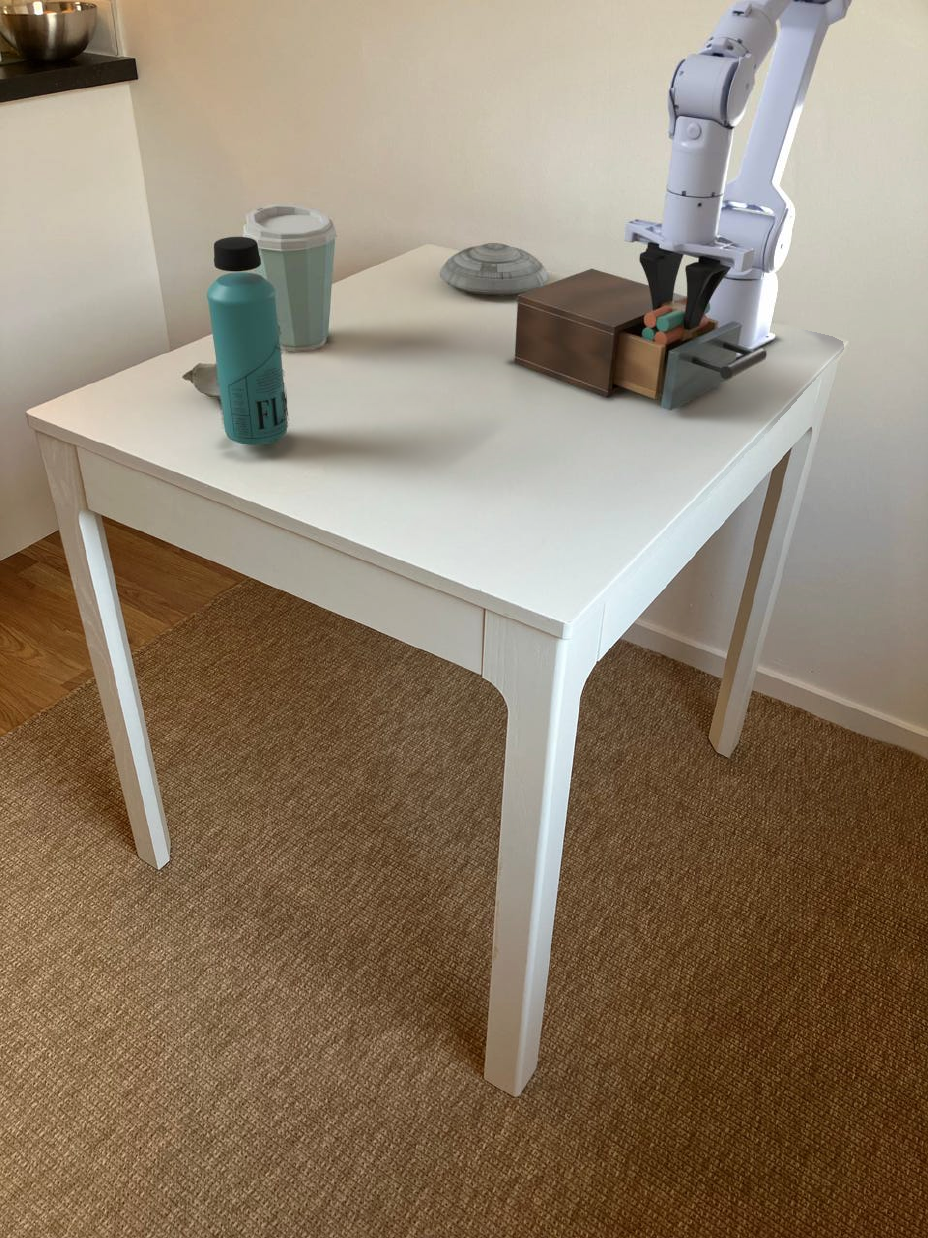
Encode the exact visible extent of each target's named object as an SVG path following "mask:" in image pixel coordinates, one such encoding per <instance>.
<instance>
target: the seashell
mask: <svg viewBox="0 0 928 1238" xmlns="http://www.w3.org/2000/svg"><path fill="white" fill-rule="evenodd" d="M215 364H216V365H215ZM215 372H216V373H215ZM181 378H182V379H183V380H185V381H189V382H190V383H191V384H193V386H194V388H195V389H196V390H197V391H198V392H200V393H201V394H203V395H205V396H207V397H211V398H215V399H219V397H220V390H219V391H218V389H219V382H218V375H217V363H202V362H199V363H197V364H196V365H195V366H194V367H192V369H190V370H189V371H187V372H186V373H184V374H183V375H182V376H181ZM217 382H218V383H217ZM217 385H218V386H217ZM218 393H219V394H218ZM219 400H221V398H220V399H219Z"/></svg>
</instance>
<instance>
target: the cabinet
mask: <svg viewBox="0 0 928 1238" xmlns="http://www.w3.org/2000/svg"><path fill="white" fill-rule="evenodd" d="M685 297H687V295H682V294H679V293H675V292H674V293H673V300H672V301H674V302H675V301H678V300H680V299H683V298H685ZM652 311H653V308H652V300H651V294H650V289H649V284H645V283H641V282H639V281H636V280H632V279H628V278H625V277H622V276H618V275H614V274H611V273H608V272H604V271H601V270H598V269H594V268H588V269H587V270H584V271H580V272H578V273H576V274H573V275H570V276H567V277H564V278H562V279H558V280H556V281H553V282H550V283H548V284H544V285H541V286H540V287H538V288H536V289H533V290H530V291H527V292H523V293H518V295H517V307H516V325H515V327H516V328H515V344H514V345H515V349H514V364H516V365H519V366H521V367H524V368H527V369H529V370H532V371H534V372H538V373H540V374H543V375H545V376H548V377H551V378H554V379H556V380H558V381H561V382H564V383H566V384H569V385H572V386H574V387H577V388H580V389H582V390H585V391H588V392H591V393H593V394H596V395H598V396H600V397H603V398H606V399H608V398H611V397H612V396H614V395H616V394H618V393H621V392H622V391H624V390H626V388H624V387H621V386H618V385H615V384H613V375H614V366H615V357H616V348H617V339H618V332H620V331H622V330H624V329H627V328H629V327H631V326H634V325H636V324H638V323H641V322H643V321H644V317H645V315H646V314H647V313H649V312H652Z"/></svg>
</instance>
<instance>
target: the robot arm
mask: <svg viewBox="0 0 928 1238" xmlns="http://www.w3.org/2000/svg"><path fill="white" fill-rule="evenodd" d="M852 1H853V0H740V1H736V2H735V3H732V4H731V5H730V6H729V7H728V8H727V9H726V10H725V12H724V13H723V15H722V16H721V18H720V19H719V21H718V22H717V24H716V25H715V27H714V28H713V30H712V32H711V33H710V34H709V36H708V38H707V39H706V41H705V42H704V44H703V45H702V47H701V48H700V49H699V51H698V53H690V54H689V55H688V56H687V57H686V58H683V59H681V60H679V62H677V65H676V66H675V68H674V70H673V73H672V76H671V79H670V84H669V88H668V90H667V111H668V115H669V124H668V131H667V132H668V138H669V139H671V141H672V144H671V149H670V150H671V151H670V157H669V159H670V160H669V166H668V175H667V182H666V190H665V198H664V206H663V214H662V219H661V220H662V221H661V222H657V221H656V222H655V221H649V220H645V219H639V218H635V219H632V220H629V221H626V222H625V227H624V228H625V229H624V237H623V238H624V239H623V240H624V242H628V243H640V244H643V245H647V246H646V249H645V251H643V252H640V254H639V257H638V258H639V259H638V260H639V263H640V265H641V267H642V270H643V272H644V275H645V277H646V281H647V285H649V289H650V294H651V300H652V308H653V311H654V310H656V309H659V308H661V304H663V303H665V302H668V301H670V300H671V301H672V300H673V293H675V285H676V281H677V277H678V273H679V271H680V267H681V263H682V260H683V257H684V256H688V257H691V258H692V257H693V258H696V259H698V260H697V261H695V262H692V263H689V264H686V265H685V269H684V270H685V271H684V272H685V278H686V297H687V302H686V308H685V315H684V329H686V330H692V329H694V328H696V327H698V326H699V325H700V322H701V319H702V317H703V314H704V312H705V309H706V307H707V305H708V303H710V310H709V312H708V313H706V314H705V315H706V316H707V318H709V319H713V320H716V321H719V323H718V328H719V327H722V326H724V325H726V324H728V323H730V322H732V321H734V322H737V323H741V324H742V327H741V333H740V338H739V344H738V346H741V347H744V348H748V349H751V350H756V349H758V348H760V347H761V346H763V345H765V344H766V343H769V342H770V341H773V340H774V339H775V338H776V335H775V334H774V333H772V332H770V329H771V324H772V320H773V316H774V309H775V304H776V300H777V295H778V290H779V289H778V288H779V284H778V283H779V282H778V277H777V274H776V272H777V271H779V269H780V268H781V267H782V266H783V263H784V261H785V260H786V257H787V255H788V253H789V248H790V245H791V239H792V233H793V232H792V229H793V225H794V222H795V217H796V211H795V206H794V203H793V202H792V201H791V199H790V198H789V197H788V196H787V194H786V192H784V190H783V189H782V188H781V186H780V184H781V179H782V176H783V172H784V169H785V167H786V163H787V159H788V156H789V153H790V150H791V146H792V144H793V140H794V136H795V133H796V129H797V126H798V123H799V120H800V116H801V113H802V110H803V107H804V104H805V100H806V97H807V93H808V90H809V87H810V84H811V80H812V77H813V73H814V70H815V66H816V64H817V60H818V56H819V53H820V50H821V48H822V45H823V42H824V40H825V37H826V35H827V32H828V29H829V28H830V26H831V25H833V24H835V23H837V22H839V21H841V20H844V19H845V18H846V16H847V13H848V9H849V8H850V6H851V4H852ZM777 21H778V23H779V32H778V25H777ZM777 35H778V36H777ZM774 45H775V46H774ZM773 46H774V50H773V53H772V56H771V58H770V59H771V60H770V63H769V66H768V70H767V73H766V76H765V80H764V83H763V88H762V91H761V94H760V98H759V101H758V104H757V108H756V110H755V115H754V118H753V121H752V125H751V127H750V132H749V135H748V139H747V142H746V146H745V149H744V152H743V156H742V160H741V163H740V166H739V170H738V174H737V176H736V177H735V178H733V179H732V180H730V181H728V182H727V177H728V169H729V164H730V157H731V151H732V146H733V139H734V133H735V127H736V126H737V125H738V124H739V123H740V122H741V120H742V119H743V117H744V115H745V113H746V110H747V107H748V104H749V100H750V96H751V94H752V92H753V90H754V87H755V84H756V81H755V80H756V79H755V77H756V73H758V71H759V70H760V67H761V66H762V64H763V62H764V61H765V59H766V58H767V56H768V54H769V53H770V51H771V50H772V48H773ZM742 209H743V210H742ZM751 211H754V212H751ZM758 212H759V213H758ZM764 213H765V214H764ZM769 214H770V215H769ZM742 356H744V355H743V354H740V353H737V355H736V359H738V358H740V357H742Z"/></svg>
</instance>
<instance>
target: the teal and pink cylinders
mask: <svg viewBox="0 0 928 1238" xmlns="http://www.w3.org/2000/svg"><path fill="white" fill-rule="evenodd" d="M686 302H687V296H686V297H685V298H683V299H680V300H678V301H675V302H674V301H671V300H670V301H668V302H665V303H663V304H661V308H659V309H656V310H654V311H652V312H649V313H647V314H646V315H645V317H644V323H645V325H646V326H647V328H645V329H644V330H643V331H642V337H643V338H644V339H647V340H650V341H655V342H656V343H659V344H663V345H668V344H670V343H672V342H674V341H676V340H681V341H684V340H686V339H688V338H690V337H692V333H694V332H696V331H698V330H700V329H702V328H705V327H706V326H707V324H708V318H707V316H706V315H705V314H706V313H708V312H709V310H710V303H708V305H707V307H706V309H705V312H704V314H703V317H702V319H701V322H700V325H699V326H698V327H696V328H694V329H692V330H686V329H684V315H685V308H686Z"/></svg>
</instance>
